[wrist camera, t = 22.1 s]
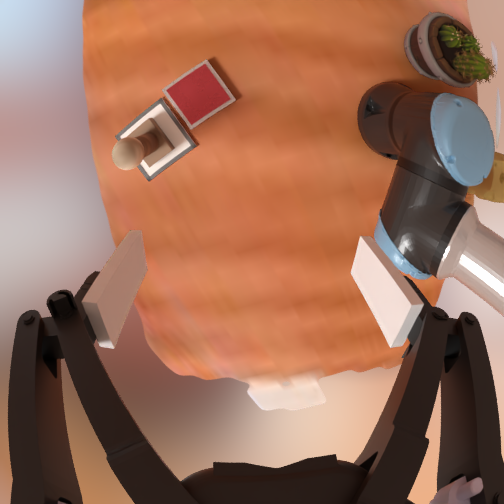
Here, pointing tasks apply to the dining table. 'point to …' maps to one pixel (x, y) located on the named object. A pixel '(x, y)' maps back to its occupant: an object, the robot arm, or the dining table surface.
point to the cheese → (492, 182)
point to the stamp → (142, 146)
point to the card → (170, 129)
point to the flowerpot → (446, 51)
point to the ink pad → (198, 94)
